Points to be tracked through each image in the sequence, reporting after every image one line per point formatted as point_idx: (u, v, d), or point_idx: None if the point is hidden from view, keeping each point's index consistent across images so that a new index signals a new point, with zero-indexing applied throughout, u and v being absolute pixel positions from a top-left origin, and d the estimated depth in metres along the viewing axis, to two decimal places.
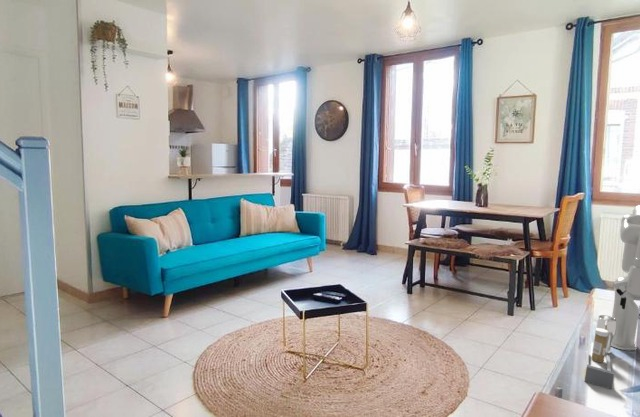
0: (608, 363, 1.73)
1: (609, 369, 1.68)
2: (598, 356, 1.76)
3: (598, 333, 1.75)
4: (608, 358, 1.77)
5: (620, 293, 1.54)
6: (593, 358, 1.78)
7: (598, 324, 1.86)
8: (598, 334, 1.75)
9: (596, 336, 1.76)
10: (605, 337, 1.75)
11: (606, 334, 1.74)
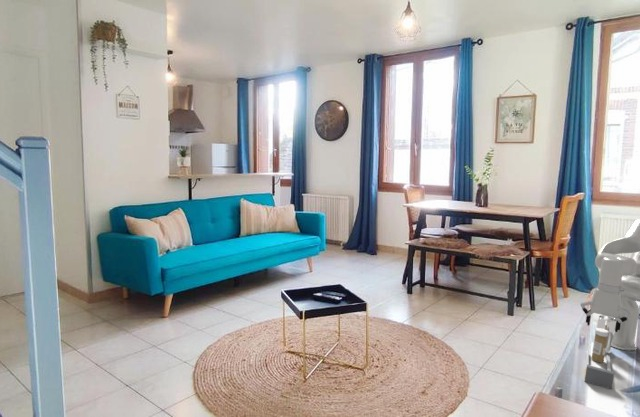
0: (608, 363, 1.73)
1: (609, 369, 1.68)
2: (598, 356, 1.76)
3: (598, 333, 1.75)
4: (608, 358, 1.77)
5: (585, 312, 1.78)
6: (593, 358, 1.78)
7: (598, 324, 1.86)
8: (598, 334, 1.75)
9: (596, 336, 1.76)
10: (605, 337, 1.75)
11: (606, 334, 1.74)
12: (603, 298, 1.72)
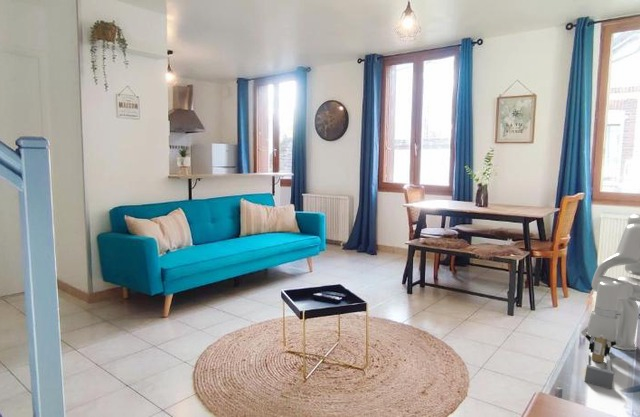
0: (608, 363, 1.73)
1: (609, 369, 1.68)
2: (598, 355, 1.76)
3: None
4: (608, 358, 1.77)
5: (589, 339, 1.78)
6: (593, 358, 1.78)
7: None
8: None
9: None
10: None
11: None
12: (599, 322, 1.74)
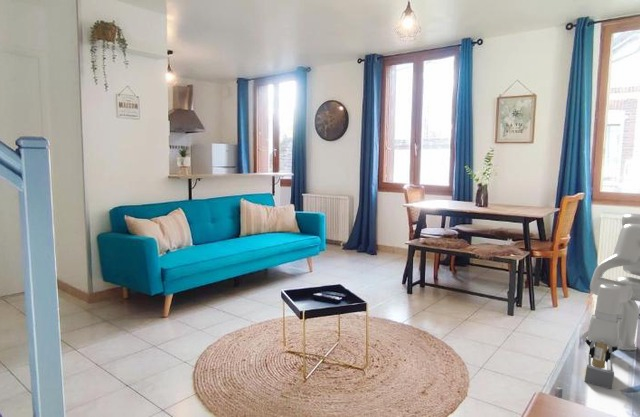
0: (608, 363, 1.73)
1: (609, 369, 1.68)
2: (599, 361, 1.69)
3: None
4: None
5: (589, 344, 1.71)
6: (593, 364, 1.71)
7: None
8: None
9: None
10: None
11: None
12: (600, 327, 1.67)
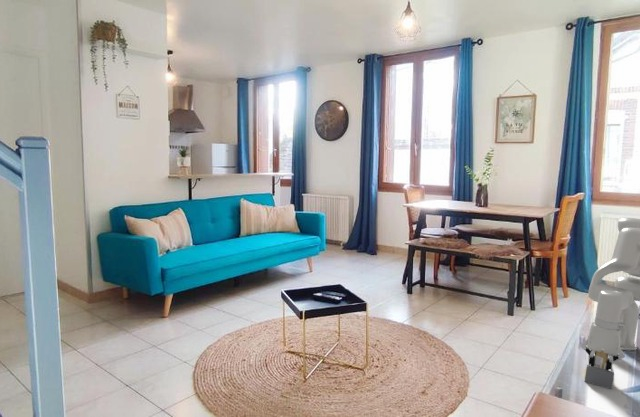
0: None
1: (609, 369, 1.68)
2: None
3: None
4: None
5: (589, 352, 1.64)
6: None
7: None
8: None
9: None
10: None
11: None
12: (600, 335, 1.60)
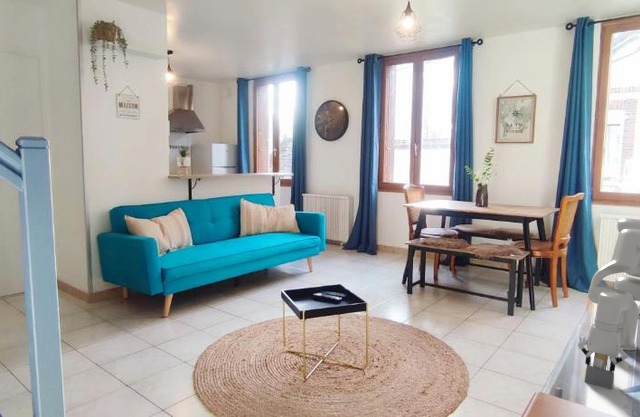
0: (608, 363, 1.73)
1: (609, 369, 1.68)
2: None
3: None
4: (608, 358, 1.77)
5: (585, 352, 1.65)
6: None
7: None
8: None
9: None
10: None
11: None
12: (600, 337, 1.60)
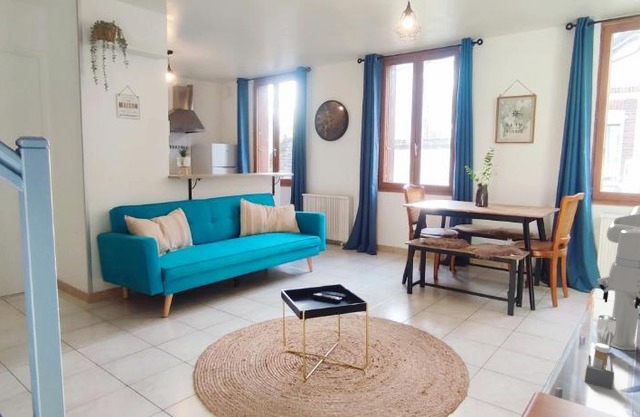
0: (608, 363, 1.73)
1: (609, 369, 1.68)
2: None
3: (598, 349, 1.61)
4: (608, 358, 1.77)
5: (603, 288, 1.67)
6: None
7: (598, 324, 1.86)
8: (598, 350, 1.61)
9: (596, 352, 1.62)
10: (606, 353, 1.61)
11: (607, 350, 1.60)
12: (621, 274, 1.61)
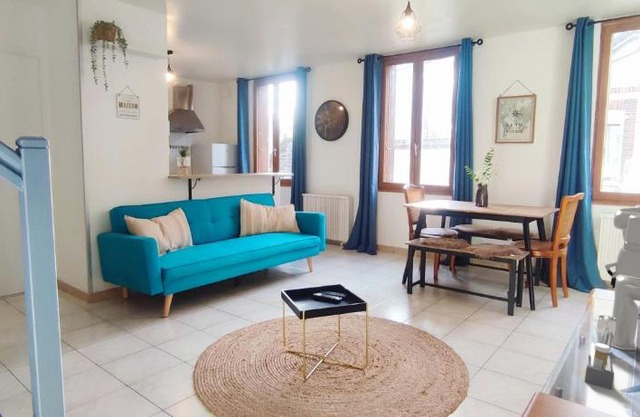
0: (608, 363, 1.73)
1: (609, 369, 1.68)
2: None
3: (598, 349, 1.61)
4: (608, 358, 1.77)
5: (610, 274, 1.68)
6: None
7: (598, 324, 1.86)
8: (598, 350, 1.61)
9: (596, 352, 1.62)
10: (606, 353, 1.61)
11: (607, 350, 1.60)
12: (629, 259, 1.63)
